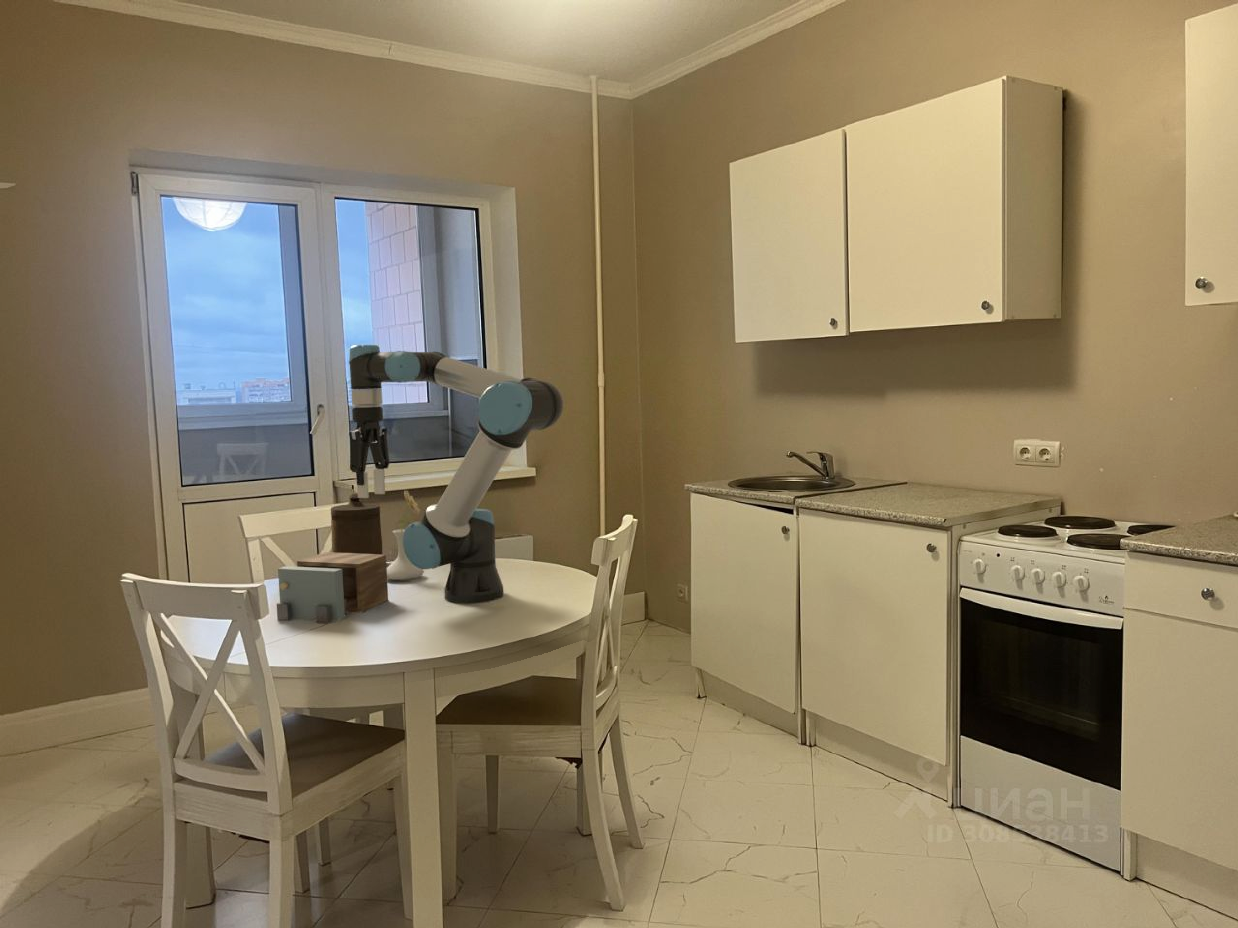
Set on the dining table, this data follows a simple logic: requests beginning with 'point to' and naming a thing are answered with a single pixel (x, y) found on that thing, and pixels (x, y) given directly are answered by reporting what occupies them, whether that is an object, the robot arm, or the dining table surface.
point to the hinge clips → (321, 612)
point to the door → (312, 590)
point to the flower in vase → (402, 565)
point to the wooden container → (356, 527)
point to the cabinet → (356, 577)
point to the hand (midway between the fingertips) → (371, 495)
